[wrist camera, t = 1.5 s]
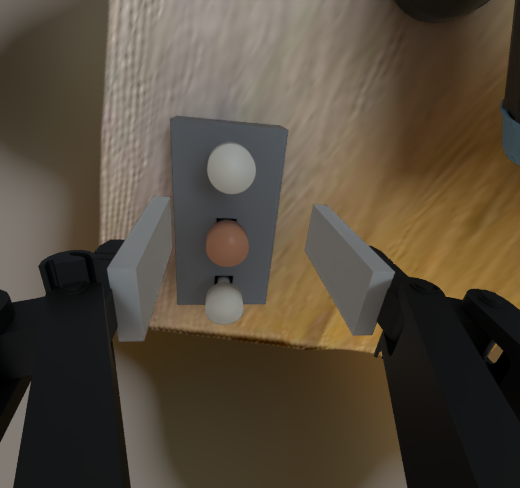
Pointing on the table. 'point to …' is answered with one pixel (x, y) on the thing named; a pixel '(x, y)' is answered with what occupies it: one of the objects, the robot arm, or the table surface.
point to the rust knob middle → (227, 243)
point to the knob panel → (224, 205)
